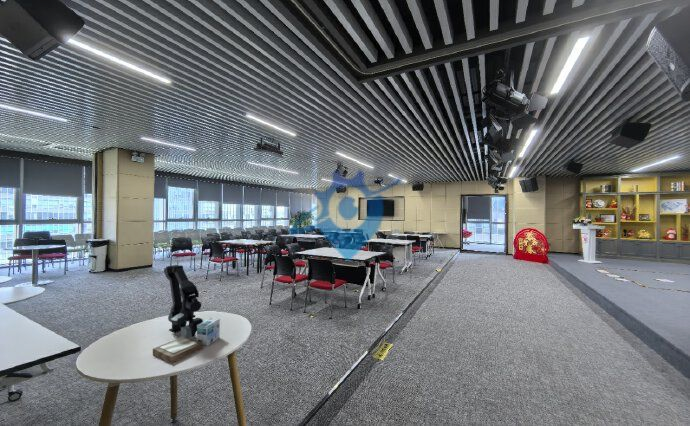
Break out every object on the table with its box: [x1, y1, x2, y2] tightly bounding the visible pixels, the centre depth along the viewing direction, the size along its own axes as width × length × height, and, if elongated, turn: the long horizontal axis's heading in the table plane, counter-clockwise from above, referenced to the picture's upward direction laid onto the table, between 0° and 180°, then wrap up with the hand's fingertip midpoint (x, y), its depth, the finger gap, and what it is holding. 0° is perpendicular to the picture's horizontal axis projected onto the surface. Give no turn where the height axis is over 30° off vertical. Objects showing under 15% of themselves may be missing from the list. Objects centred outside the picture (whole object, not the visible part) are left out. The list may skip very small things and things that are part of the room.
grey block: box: [180, 324, 196, 339], centre depth 157 cm, size 5×5×6 cm
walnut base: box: [152, 336, 204, 364], centre depth 142 cm, size 16×16×3 cm
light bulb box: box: [196, 317, 221, 347], centre depth 154 cm, size 11×7×11 cm, turn 168°
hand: (187, 334), depth 157 cm, fingers open, 9 cm apart
